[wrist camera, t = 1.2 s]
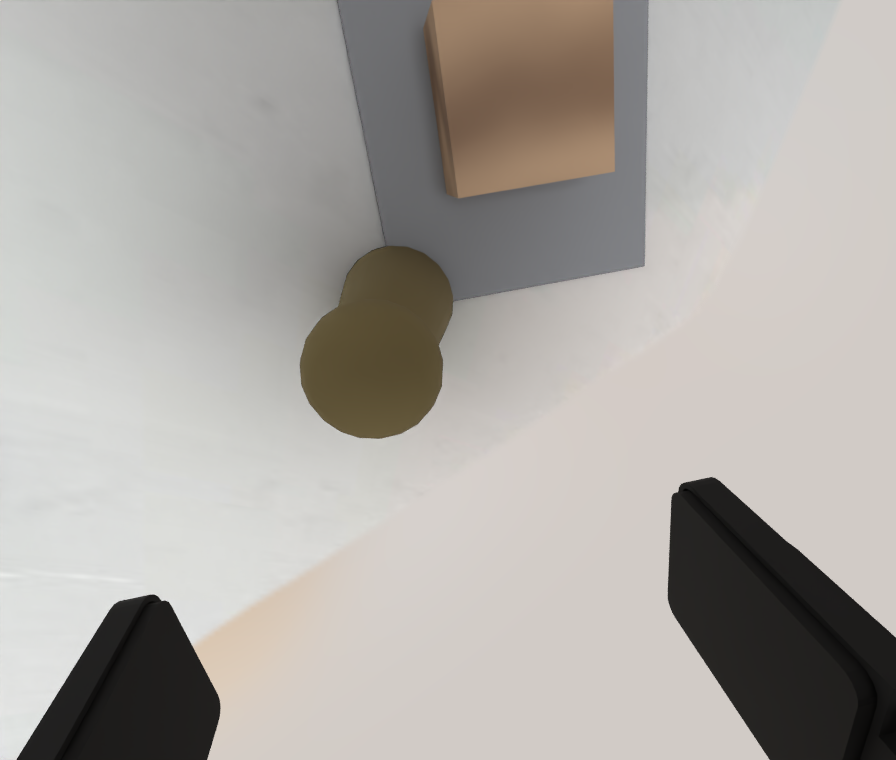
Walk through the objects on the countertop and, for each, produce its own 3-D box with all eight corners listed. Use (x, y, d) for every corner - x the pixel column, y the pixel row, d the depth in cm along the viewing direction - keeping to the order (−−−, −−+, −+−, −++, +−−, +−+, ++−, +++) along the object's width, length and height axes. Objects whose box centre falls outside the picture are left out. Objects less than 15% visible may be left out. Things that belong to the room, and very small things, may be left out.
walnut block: (423, 28, 22) (431, 0, 18) (574, 5, 22) (612, -27, 19) (446, 194, 25) (458, 198, 21) (580, 171, 25) (614, 171, 21)
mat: (313, -119, 20) (312, -125, 19) (645, -163, 21) (650, -169, 20) (398, 309, 27) (399, 311, 27) (641, 264, 28) (644, 266, 28)
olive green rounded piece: (349, 234, 25) (281, 285, 15) (464, 259, 26) (472, 324, 16) (335, 343, 27) (270, 449, 17) (441, 363, 28) (435, 478, 18)
